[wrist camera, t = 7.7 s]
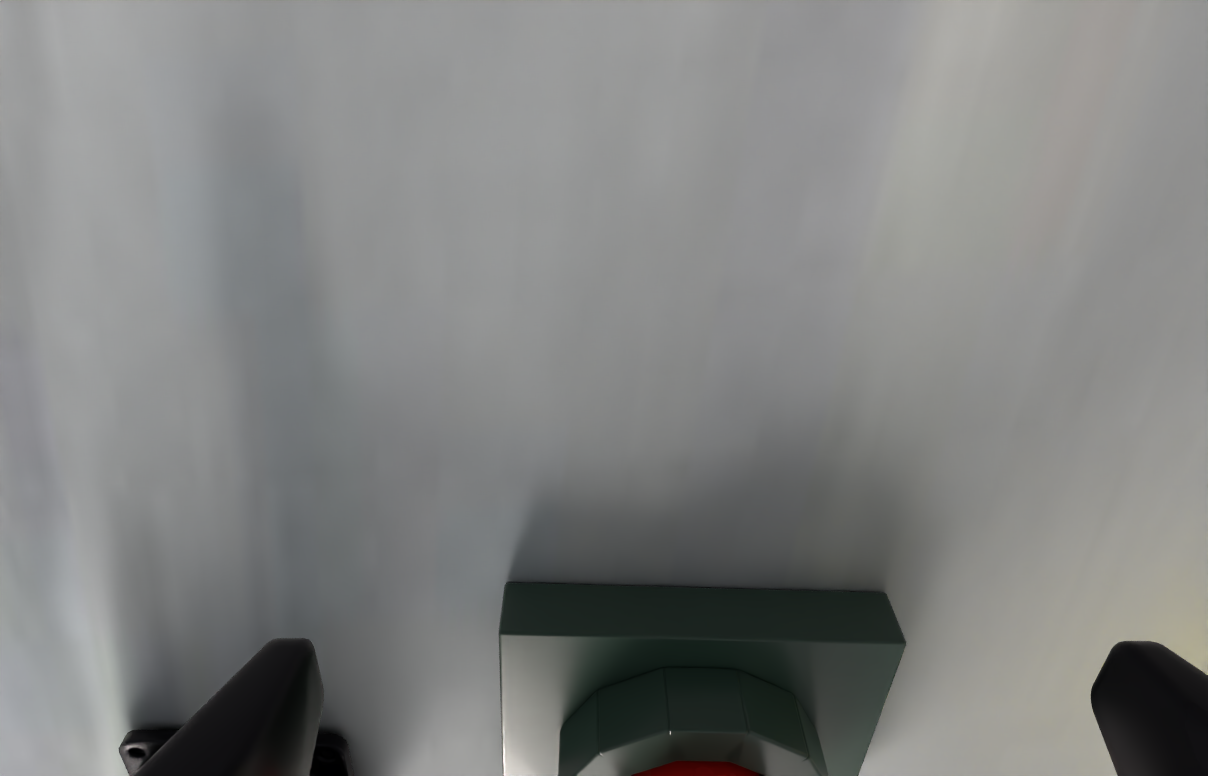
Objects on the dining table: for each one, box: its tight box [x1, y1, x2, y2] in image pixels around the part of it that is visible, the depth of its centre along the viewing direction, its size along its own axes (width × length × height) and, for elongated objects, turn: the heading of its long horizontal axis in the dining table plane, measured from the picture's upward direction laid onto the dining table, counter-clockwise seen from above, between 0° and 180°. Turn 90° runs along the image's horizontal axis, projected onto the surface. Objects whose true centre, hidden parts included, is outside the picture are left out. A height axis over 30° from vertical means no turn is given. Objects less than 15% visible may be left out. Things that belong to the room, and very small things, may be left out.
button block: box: [499, 583, 906, 776], centre depth 22 cm, size 10×9×4 cm
